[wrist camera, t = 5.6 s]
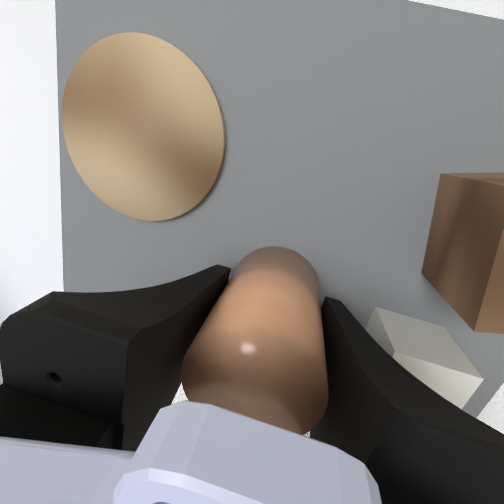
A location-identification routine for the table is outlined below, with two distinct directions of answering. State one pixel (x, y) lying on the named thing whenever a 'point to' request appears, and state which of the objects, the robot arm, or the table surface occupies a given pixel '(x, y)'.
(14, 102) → the table surface
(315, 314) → the terracotta cylinder
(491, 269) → the walnut cube
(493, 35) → the felt mat
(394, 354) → the pale grey plastic box
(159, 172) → the cork pad
